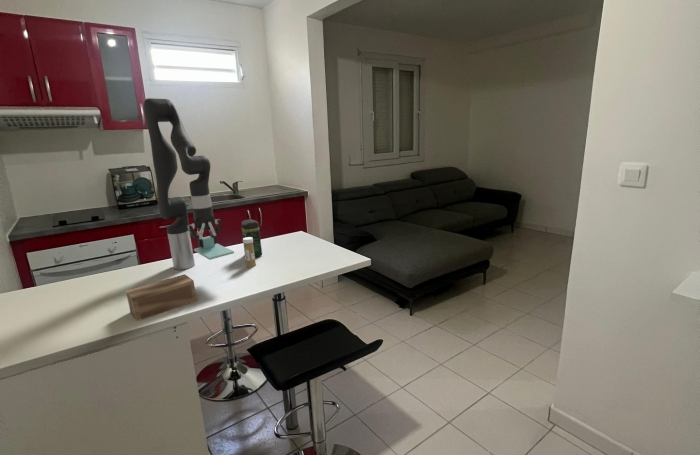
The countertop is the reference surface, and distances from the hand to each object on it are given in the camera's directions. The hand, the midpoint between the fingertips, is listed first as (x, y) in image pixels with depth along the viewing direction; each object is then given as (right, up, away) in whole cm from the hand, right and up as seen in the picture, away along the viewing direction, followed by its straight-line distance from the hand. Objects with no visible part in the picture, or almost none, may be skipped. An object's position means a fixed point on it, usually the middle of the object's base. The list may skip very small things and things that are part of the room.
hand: (208, 245), depth 149 cm
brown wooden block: (-8, -21, -19) cm, 30 cm away
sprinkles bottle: (+13, -11, +18) cm, 24 cm away
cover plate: (+4, -3, -3) cm, 5 cm away
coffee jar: (+11, -7, +31) cm, 34 cm away
